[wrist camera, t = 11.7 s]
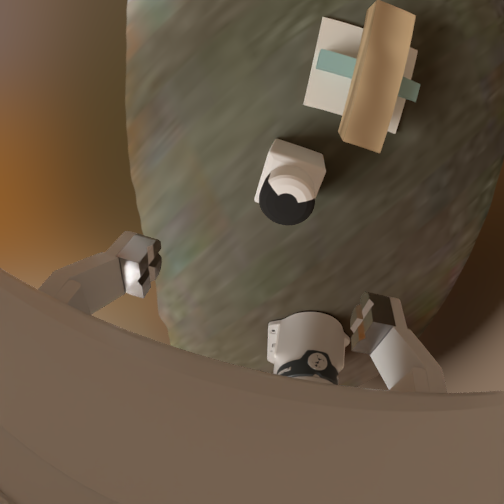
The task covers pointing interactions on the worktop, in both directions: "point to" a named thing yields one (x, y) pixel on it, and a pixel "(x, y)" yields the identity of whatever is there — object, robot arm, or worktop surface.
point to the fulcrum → (347, 70)
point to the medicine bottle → (290, 182)
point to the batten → (377, 76)
